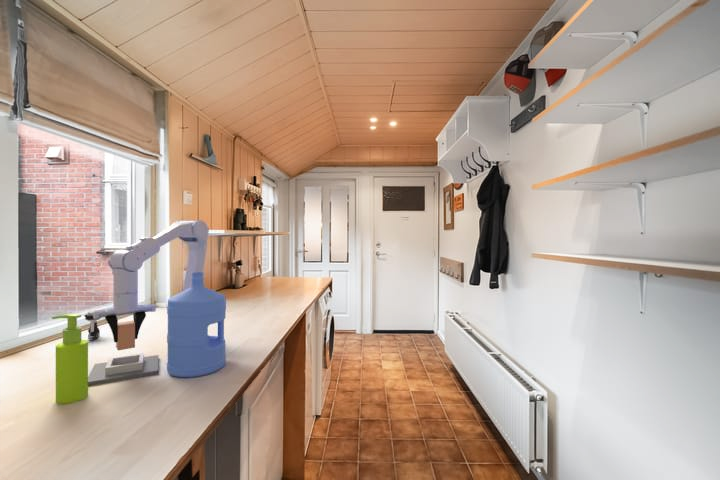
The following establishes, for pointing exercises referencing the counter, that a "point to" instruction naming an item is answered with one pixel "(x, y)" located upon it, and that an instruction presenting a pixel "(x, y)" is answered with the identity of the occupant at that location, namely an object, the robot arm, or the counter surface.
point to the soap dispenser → (71, 363)
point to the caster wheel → (92, 326)
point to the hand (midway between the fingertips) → (125, 339)
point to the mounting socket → (123, 368)
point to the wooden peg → (125, 335)
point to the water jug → (195, 330)
